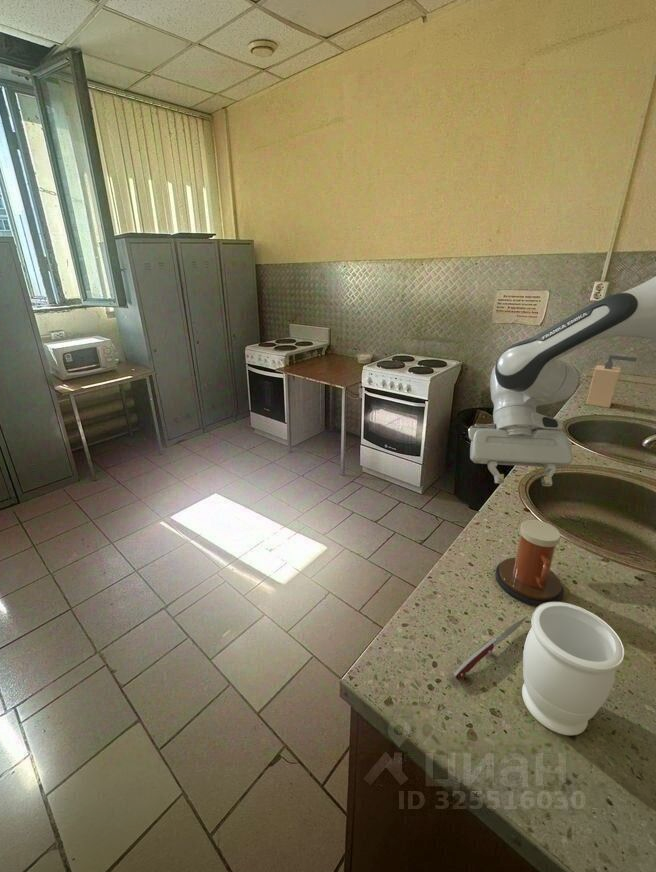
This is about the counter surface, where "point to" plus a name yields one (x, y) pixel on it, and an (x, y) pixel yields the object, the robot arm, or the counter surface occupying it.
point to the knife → (484, 651)
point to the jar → (568, 666)
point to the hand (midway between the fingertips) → (523, 484)
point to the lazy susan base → (523, 598)
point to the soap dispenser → (605, 382)
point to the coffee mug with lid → (533, 562)
